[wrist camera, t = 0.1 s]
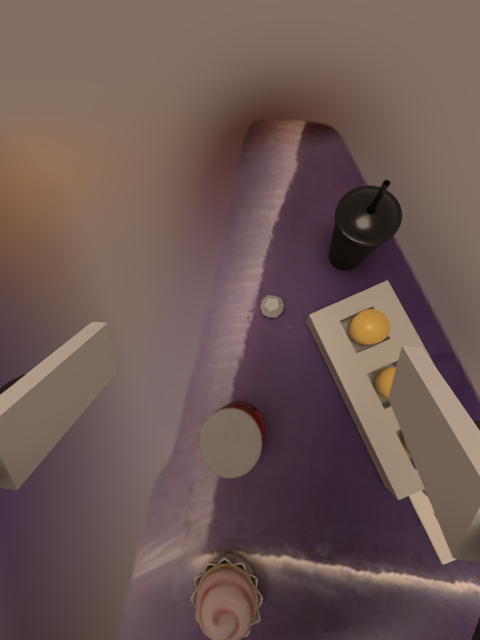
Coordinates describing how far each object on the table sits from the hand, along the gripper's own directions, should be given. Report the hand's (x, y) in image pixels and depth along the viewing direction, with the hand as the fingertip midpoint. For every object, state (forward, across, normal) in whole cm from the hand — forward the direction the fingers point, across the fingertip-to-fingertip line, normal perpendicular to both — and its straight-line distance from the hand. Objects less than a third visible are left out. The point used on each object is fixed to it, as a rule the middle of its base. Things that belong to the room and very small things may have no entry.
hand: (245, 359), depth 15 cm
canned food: (+24, +4, +28) cm, 37 cm away
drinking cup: (+40, -11, +6) cm, 42 cm away
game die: (+35, 0, +13) cm, 37 cm away
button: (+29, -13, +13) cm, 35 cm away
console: (+29, -17, +21) cm, 40 cm away
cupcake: (+12, +3, +45) cm, 46 cm away
